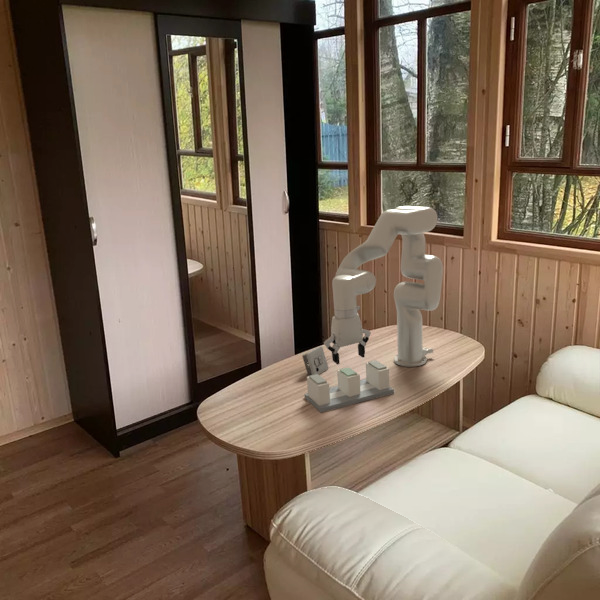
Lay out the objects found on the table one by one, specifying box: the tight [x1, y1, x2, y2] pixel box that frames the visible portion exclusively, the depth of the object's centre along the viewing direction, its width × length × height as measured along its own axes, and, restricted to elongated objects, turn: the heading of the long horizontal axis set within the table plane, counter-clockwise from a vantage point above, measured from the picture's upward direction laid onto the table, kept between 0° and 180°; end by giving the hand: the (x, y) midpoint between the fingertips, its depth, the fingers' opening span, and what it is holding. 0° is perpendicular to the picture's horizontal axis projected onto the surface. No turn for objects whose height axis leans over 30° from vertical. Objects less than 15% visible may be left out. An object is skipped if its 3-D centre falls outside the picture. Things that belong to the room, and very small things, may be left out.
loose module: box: [336, 367, 361, 397], centre depth 208 cm, size 4×8×8 cm, turn 23°
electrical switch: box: [301, 346, 329, 376], centre depth 230 cm, size 9×5×9 cm, turn 141°
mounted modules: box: [306, 359, 390, 406], centre depth 207 cm, size 27×9×8 cm, turn 114°
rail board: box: [303, 378, 395, 413], centre depth 209 cm, size 28×13×2 cm, turn 114°
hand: (349, 359), depth 206 cm, fingers open, 9 cm apart
